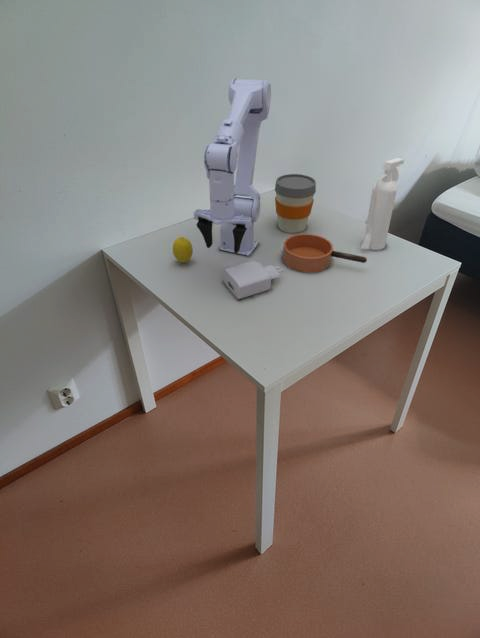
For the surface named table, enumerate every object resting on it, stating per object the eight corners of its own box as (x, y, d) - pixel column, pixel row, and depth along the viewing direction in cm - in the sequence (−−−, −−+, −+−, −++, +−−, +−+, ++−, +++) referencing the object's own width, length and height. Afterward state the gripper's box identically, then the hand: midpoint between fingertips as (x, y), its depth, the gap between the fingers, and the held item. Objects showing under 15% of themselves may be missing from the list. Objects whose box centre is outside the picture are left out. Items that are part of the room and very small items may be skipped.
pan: (276, 266, 114) (277, 252, 111) (290, 243, 124) (292, 230, 121) (324, 276, 110) (326, 262, 107) (335, 252, 120) (337, 239, 117)
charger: (289, 285, 107) (239, 301, 102) (271, 268, 113) (223, 282, 108) (291, 269, 104) (239, 285, 99) (272, 253, 110) (222, 267, 105)
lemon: (196, 259, 117) (194, 234, 112) (188, 268, 113) (186, 243, 108) (179, 255, 118) (176, 231, 113) (170, 265, 114) (167, 240, 109)
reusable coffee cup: (267, 231, 130) (269, 185, 120) (279, 215, 139) (282, 171, 129) (305, 238, 126) (310, 192, 117) (315, 221, 135) (321, 177, 125)
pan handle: (327, 256, 113) (327, 251, 112) (328, 253, 114) (329, 248, 113) (365, 264, 110) (366, 259, 109) (366, 261, 111) (367, 256, 110)
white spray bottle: (349, 248, 121) (366, 164, 105) (373, 235, 128) (392, 153, 112) (369, 257, 118) (388, 171, 101) (392, 243, 124) (414, 160, 108)
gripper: (186, 199, 95) (191, 250, 103) (245, 208, 91) (244, 261, 99) (199, 188, 100) (202, 238, 108) (255, 196, 96) (253, 247, 104)
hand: (223, 248), depth 104 cm, fingers open, 7 cm apart
